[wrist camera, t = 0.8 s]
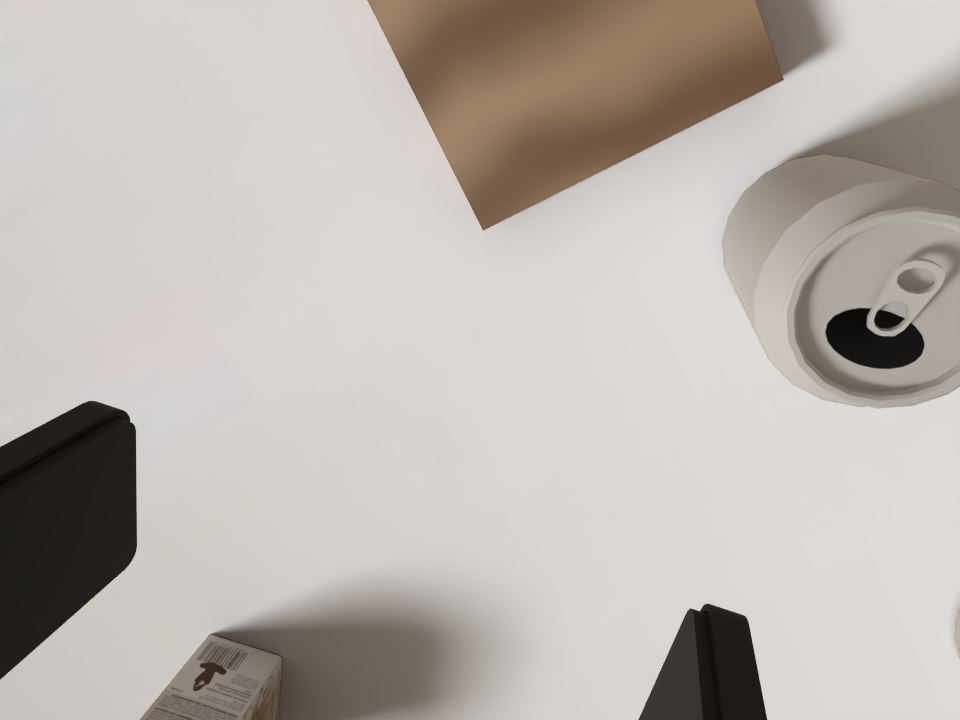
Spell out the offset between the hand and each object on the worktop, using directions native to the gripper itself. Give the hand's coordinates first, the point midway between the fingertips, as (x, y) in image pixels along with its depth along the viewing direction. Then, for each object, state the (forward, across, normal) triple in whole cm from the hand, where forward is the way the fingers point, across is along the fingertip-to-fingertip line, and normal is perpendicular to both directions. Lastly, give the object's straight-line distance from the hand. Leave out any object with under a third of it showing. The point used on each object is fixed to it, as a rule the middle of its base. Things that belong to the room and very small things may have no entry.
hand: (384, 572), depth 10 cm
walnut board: (+25, +3, -10) cm, 27 cm away
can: (+25, -10, -4) cm, 27 cm away
